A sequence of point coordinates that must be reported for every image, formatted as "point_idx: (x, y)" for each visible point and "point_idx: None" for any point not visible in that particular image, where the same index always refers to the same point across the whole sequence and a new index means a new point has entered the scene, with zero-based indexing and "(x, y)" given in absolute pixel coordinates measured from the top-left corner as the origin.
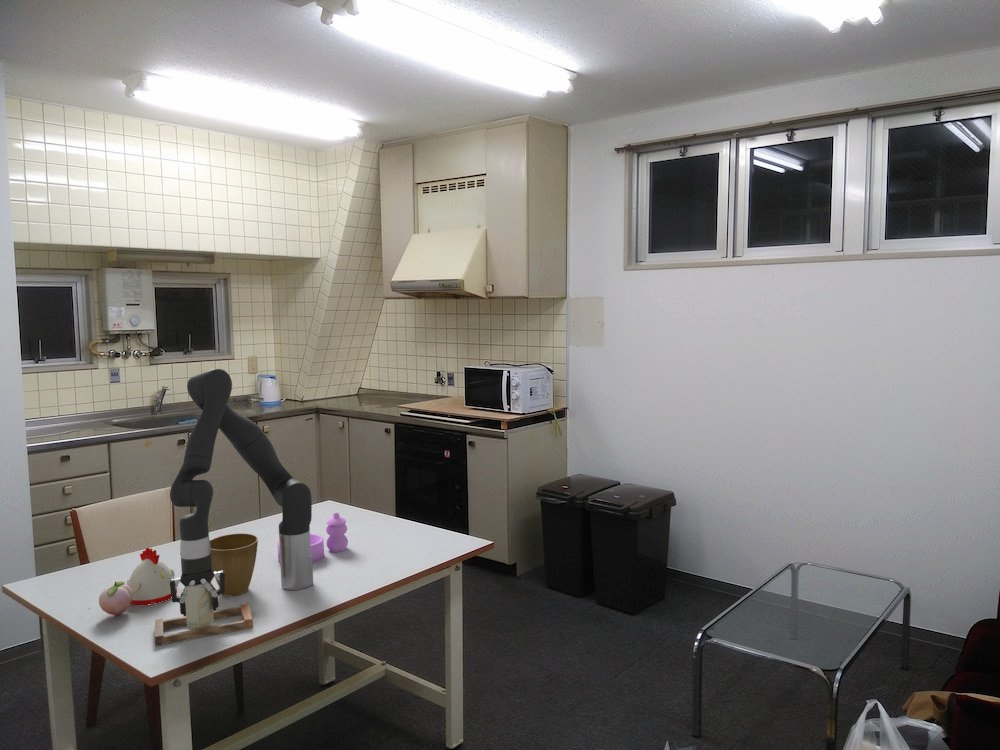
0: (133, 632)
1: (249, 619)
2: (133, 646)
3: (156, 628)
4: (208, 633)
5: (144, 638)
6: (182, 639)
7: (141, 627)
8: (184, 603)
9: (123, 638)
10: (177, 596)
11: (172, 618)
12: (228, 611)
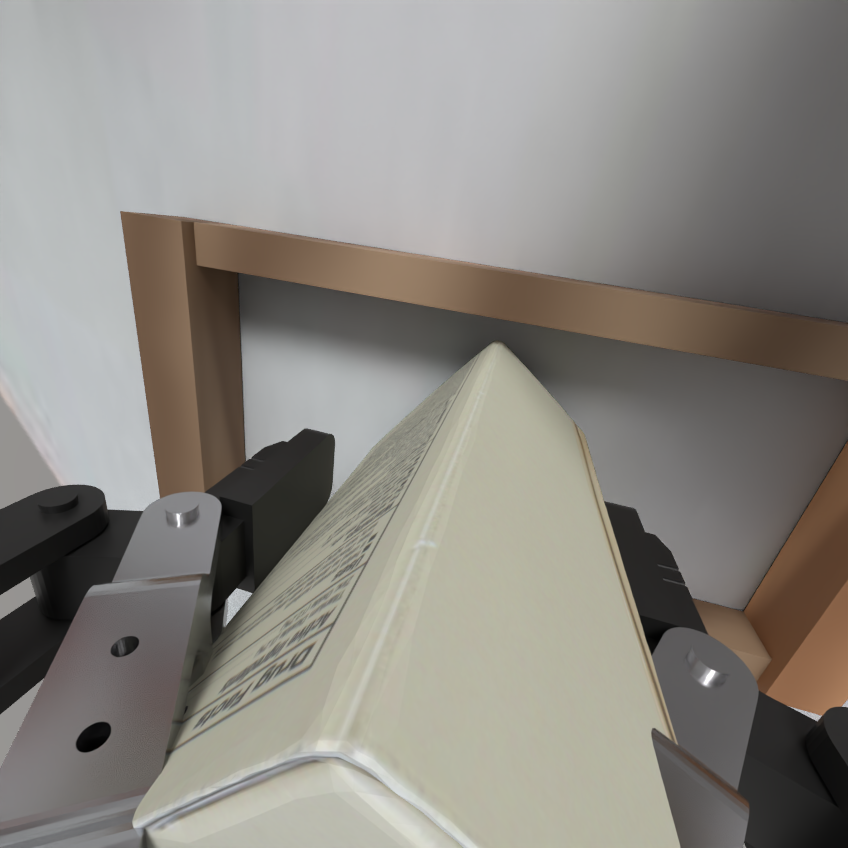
0: (53, 190)
1: (804, 707)
2: (102, 420)
3: (157, 408)
4: None
5: None
6: None
7: (85, 114)
8: (245, 588)
9: (20, 262)
10: (89, 582)
11: (266, 236)
12: (788, 369)
